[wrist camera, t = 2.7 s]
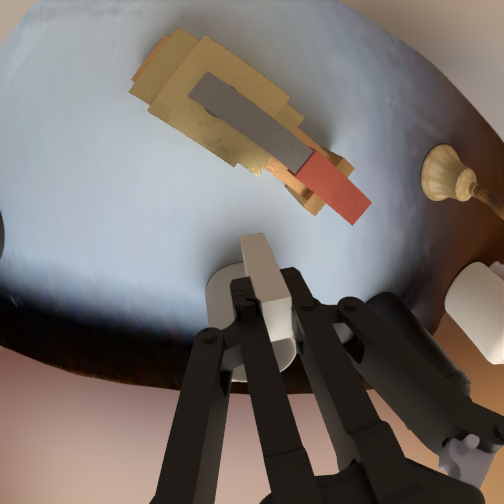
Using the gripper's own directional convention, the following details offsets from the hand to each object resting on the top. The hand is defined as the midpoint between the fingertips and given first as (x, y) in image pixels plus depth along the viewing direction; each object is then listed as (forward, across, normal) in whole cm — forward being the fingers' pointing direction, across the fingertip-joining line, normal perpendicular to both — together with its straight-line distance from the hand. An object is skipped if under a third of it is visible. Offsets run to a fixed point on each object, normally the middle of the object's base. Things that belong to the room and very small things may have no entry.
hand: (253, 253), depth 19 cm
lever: (+6, +4, +6) cm, 9 cm away
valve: (+13, +2, +8) cm, 15 cm away
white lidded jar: (+14, +42, -25) cm, 51 cm away
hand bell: (+13, +28, -1) cm, 31 cm away
